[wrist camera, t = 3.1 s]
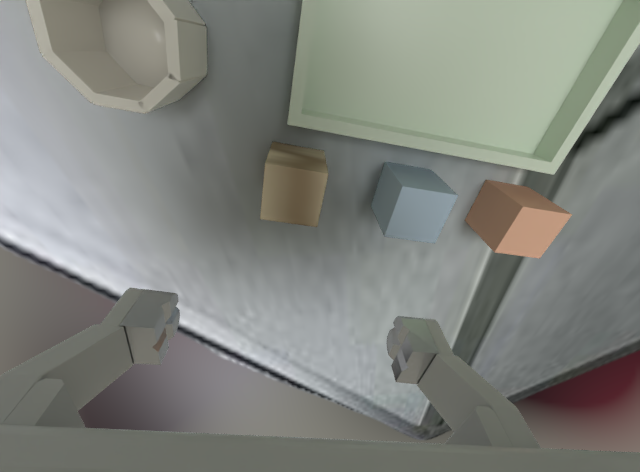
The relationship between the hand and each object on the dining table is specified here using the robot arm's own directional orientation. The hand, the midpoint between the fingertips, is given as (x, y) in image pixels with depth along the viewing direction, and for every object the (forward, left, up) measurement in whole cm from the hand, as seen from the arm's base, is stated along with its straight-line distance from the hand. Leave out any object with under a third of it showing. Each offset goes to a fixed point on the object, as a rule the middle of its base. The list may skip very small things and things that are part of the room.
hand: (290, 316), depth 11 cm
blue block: (+9, 0, -15) cm, 17 cm away
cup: (-10, +7, -15) cm, 20 cm away
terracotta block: (+18, 0, -15) cm, 23 cm away
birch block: (0, 0, -15) cm, 15 cm away
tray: (+9, +10, -15) cm, 20 cm away
